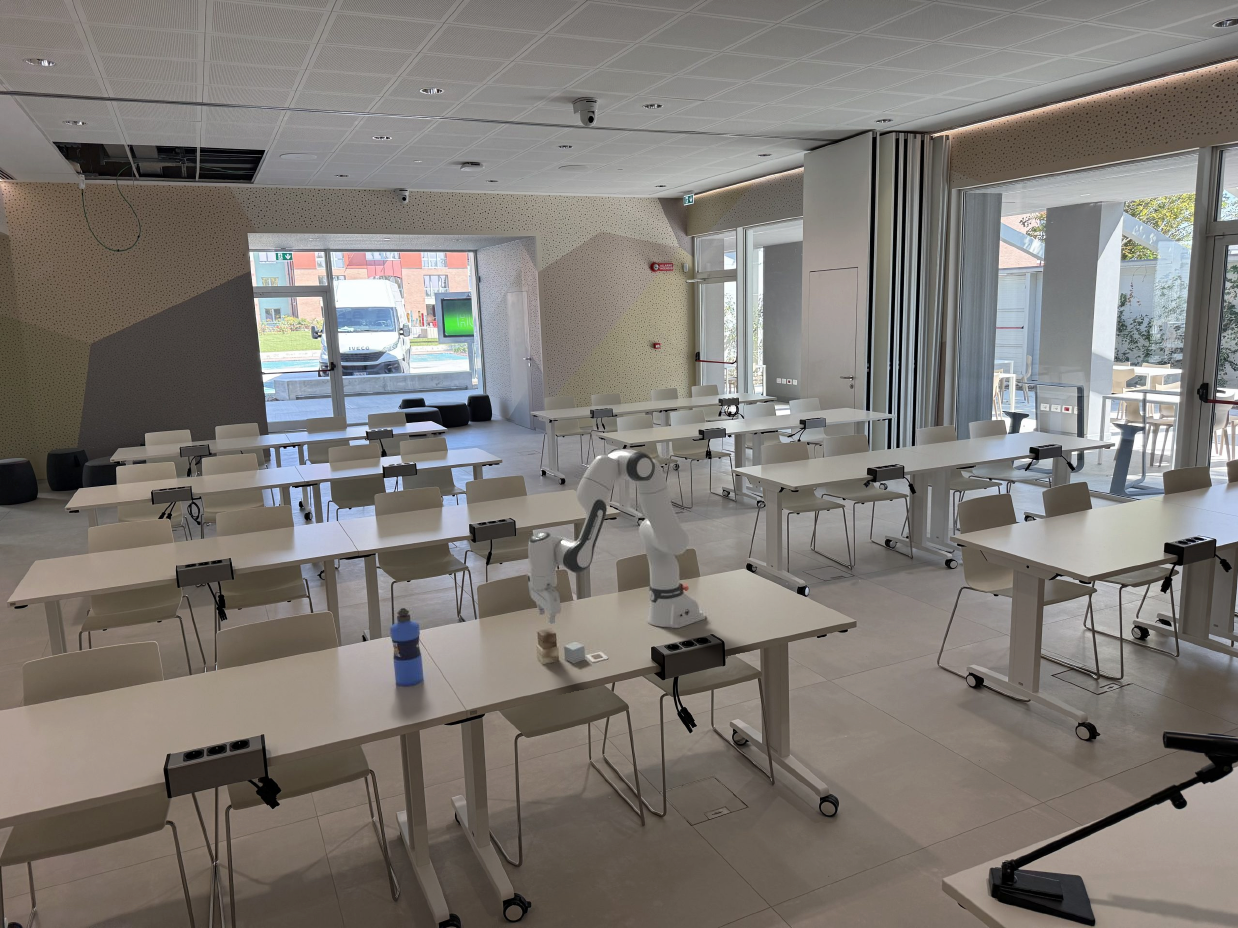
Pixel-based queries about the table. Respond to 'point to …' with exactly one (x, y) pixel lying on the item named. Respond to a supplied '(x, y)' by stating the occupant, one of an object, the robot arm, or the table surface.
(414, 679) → the water bottle
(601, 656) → the swatch
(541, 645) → the walnut block
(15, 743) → the table surface
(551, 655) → the maple base
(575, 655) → the grey block
